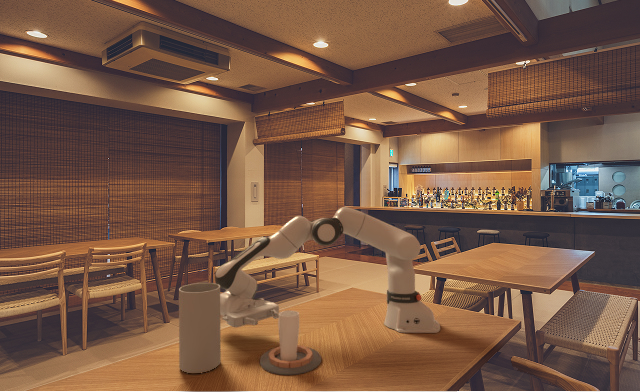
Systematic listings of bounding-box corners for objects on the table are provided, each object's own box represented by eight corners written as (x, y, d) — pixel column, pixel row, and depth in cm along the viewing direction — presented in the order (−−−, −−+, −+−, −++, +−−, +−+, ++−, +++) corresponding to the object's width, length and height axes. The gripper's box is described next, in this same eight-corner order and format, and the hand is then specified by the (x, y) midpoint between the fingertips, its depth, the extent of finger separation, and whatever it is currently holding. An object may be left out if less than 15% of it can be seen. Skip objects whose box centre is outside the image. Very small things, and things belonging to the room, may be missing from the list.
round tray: (326, 350, 129) (326, 344, 129) (312, 378, 110) (312, 370, 110) (272, 345, 134) (272, 339, 134) (249, 371, 115) (249, 363, 114)
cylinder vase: (182, 378, 110) (181, 294, 110) (177, 362, 121) (176, 285, 121) (224, 369, 116) (224, 289, 116) (216, 354, 127) (215, 281, 127)
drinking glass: (296, 364, 117) (296, 317, 117) (275, 363, 118) (275, 315, 118) (301, 355, 124) (301, 310, 124) (281, 354, 125) (281, 309, 125)
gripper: (219, 308, 132) (242, 317, 122) (265, 297, 147) (288, 304, 137) (219, 326, 132) (242, 336, 122) (265, 313, 147) (288, 321, 137)
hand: (267, 319), depth 130 cm, fingers open, 8 cm apart
